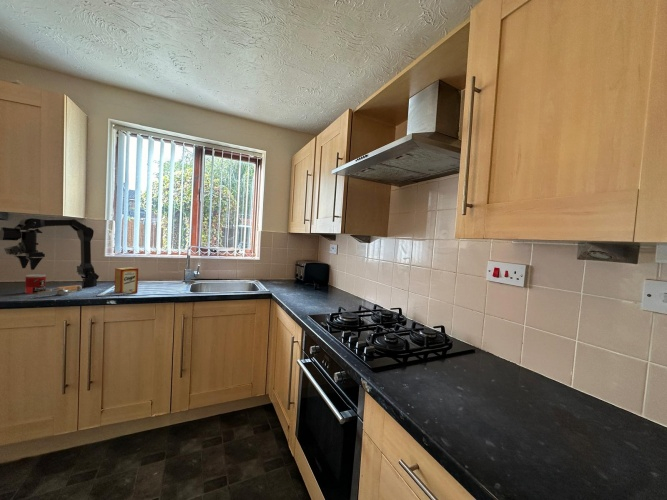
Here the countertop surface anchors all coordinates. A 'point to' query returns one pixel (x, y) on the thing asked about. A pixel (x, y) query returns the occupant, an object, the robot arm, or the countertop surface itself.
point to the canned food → (35, 283)
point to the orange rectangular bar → (68, 287)
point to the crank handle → (54, 292)
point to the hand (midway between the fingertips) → (28, 269)
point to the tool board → (70, 289)
